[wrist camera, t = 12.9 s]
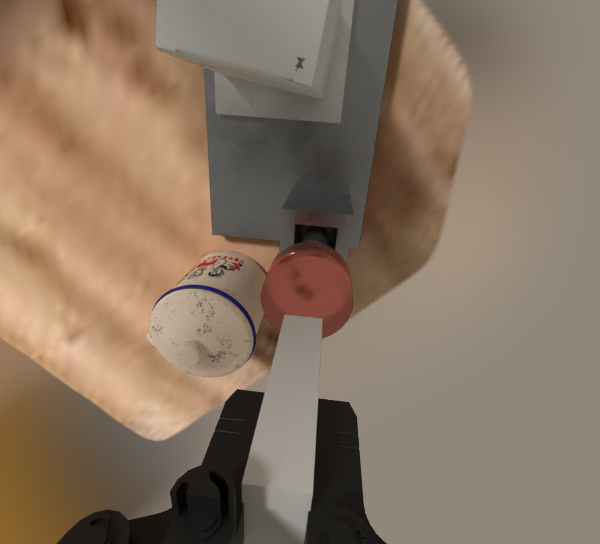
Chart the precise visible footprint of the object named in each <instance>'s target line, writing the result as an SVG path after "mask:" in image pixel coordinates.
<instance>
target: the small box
mask: <svg viewBox="0 0 600 544" xmlns="http://www.w3.org/2000/svg"><path fill="white" fill-rule="evenodd" d="M341 14H342V0H157V7H156V38H155V47H156V48H157V50H159V51H161V52H164V53H167V54H169V55H172V56H174V57H177V58H180V59H183V60H185V61H188V62H191V63H193V64H196V65H199V66H201V67H204V68H207V69H209V70H212V71H214V72H217V73H220V74H222V75H226V76H230V77H234V78H238V79H242V80H246V81H250V82H254V83H258V84H262V85H266V86H270V87H274V88H278V89H282V90H286V91H290V92H294V93H298V94H302V95H306V96H310V97H314V98H317V99H322V98H323V93H324V89H325V85H326V80H327V76H328V72H329V67H330V63H331V59H332V54H333V50H334V46H335V41H336V37H337V32H338V28H339V23H340V19H341Z"/></svg>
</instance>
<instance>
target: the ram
mask: <svg viewBox="0 0 600 544" xmlns="http://www.w3.org/2000/svg"><path fill="white" fill-rule="evenodd" d="M327 239H328V233H327V230H326V228H325V227H323V226H312V225H310V226H309V227H308V228H307V229H306V231H305V234H304V238H303V242H301V243H296V244H293V245H291V246H289V247H287V248H285V249H284V250H282V251H281V252H280V253H279V254H278V255H277V256H276V258H275V259H274V261H273V263H272V265H271V267H270V270H269V272H268V274H267V277H266V279H265V281H264V284H263V286H262V290H261V297H260V298H261V306H262V309H263V312H264V314H265V316H266V318H267V319H268V321H269V322H270V323H271V324H272V325H273V326H274V327H275V328H276V329H277V330H279V331H281V327H282V323H283V319H284V315H293V316H302V317H311V318H320V319H323V322H322V338H324V337H327V336H330V335H332V334H333V333H335V332H337V331H338V330H339V329H340V328H342V327H343V326H344V324H345V323H346V322H347V320H348V319H349V317H350V314H351V312H352V308H353V294H352V285H351V276H350V271H349V268H348V265H347V263H346V262H345V260H344V259H343V257H342V256H341V255H340V254H339V253H338V252H336V251H335V250H334V249H332V248H331V247H329V246H327Z"/></svg>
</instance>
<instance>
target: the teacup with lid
mask: <svg viewBox="0 0 600 544" xmlns="http://www.w3.org/2000/svg"><path fill="white" fill-rule="evenodd" d="M265 279H266V275H265V273H264V271H263V270H262V269H261V268H260V266H259V265H258V264H257V263H256V262H254V261H253V260H252V259H250V258H249V257H247V256H245V255H243V254H240V253H237V252H232V251H219V252H214V253H211V254H209V255H207V256H205V257H203V258H202V259H201V260H200V261H199V262H198V263H197V264H196V265H195V266H194V267H193V268H192V269H191V270H190V271H189V272H188V273H187V274H186V275H185V277H184V278H183V279H182V280H181V281H180V282H179V283H178V284H177V285H176V286H175V287H174V288H173V289H171V290H170V291H168V292H166V293H165V294H164V295H162V296H161V297H160V298H159V300H158V301H157V302H156V304H155V306H154V308H153V310H152V314H151V318H150V331H149V332H148V334H147V340H148V341H149V343H150V344H151V345H152V346H156V348H157V349H158V351H159V352H160V353H161V355H162V356H163V357H164V358H165V359H166V360H167V361H168V362H170V363H171V364H172V365H174V366H175V367H177V368H178V369H180V370H182V371H184V372H187V373H189V374H192V375H196V376H201V377H219V376H224V375H227V374H230V373H232V372H234V371H236V370H238V369H239V368H240V367H242V366H243V365H244V364H245V363H246V362H247V361H248V360H249V358H250V357H251V355H252V353H253V351H254V348H255V344H256V334H257V332H258V329H259V326H260V323H261V320H262V318H263V315H264V312H263V309H262V306H261V298H260V297H261V290H262V286H263V284H264V281H265Z"/></svg>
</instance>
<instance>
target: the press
mask: <svg viewBox="0 0 600 544" xmlns="http://www.w3.org/2000/svg"><path fill="white" fill-rule="evenodd" d="M397 3H398V0H342V14H341V19H340V23H339V28H338V32H337V37H336V41H335V46H334V50H333V54H332V59H331V63H330V67H329V72H328V76H327V80H326V85H325V89H324V93H323V98H322V99H317V98H314V97H310V96H306V95H302V94H298V93H294V92H290V91H286V90H282V89H278V88H274V87H270V86H266V85H262V84H258V83H254V82H250V81H246V80H242V79H238V78H234V77H230V76H226V75H222V74H220V73H217V72H214V71H212V70H209V69H207V68H204V77H205V98H206V118H207V138H208V159H209V179H210V199H211V220H212V235H222V236H232V237H242V238H252V239H262V240H272V241H280V252H281V251H282V250H284V249H285V248H287V247H289V246H291V245H293V244H296V243H301V242H303V238H304V234H305V231H306V229H307V228H308V227H309V226H310V225H312V226H323V227H325V228H326V230H327V233H328V239H327V246H329V247H331V248H332V249H334V250H335V251H336V252H338V253H339V254H340V255H341V256H342V257H343V259H344V260H345V262H346V263H348V257H349V250H350V248H354V249H359V243H360V237H361V231H362V224H363V218H364V212H365V205H366V199H367V193H368V186H369V180H370V174H371V167H372V161H373V155H374V148H375V142H376V136H377V129H378V123H379V117H380V110H381V104H382V98H383V91H384V85H385V79H386V72H387V66H388V60H389V53H390V47H391V41H392V34H393V28H394V22H395V15H396V9H397ZM280 252H279V253H280Z"/></svg>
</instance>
